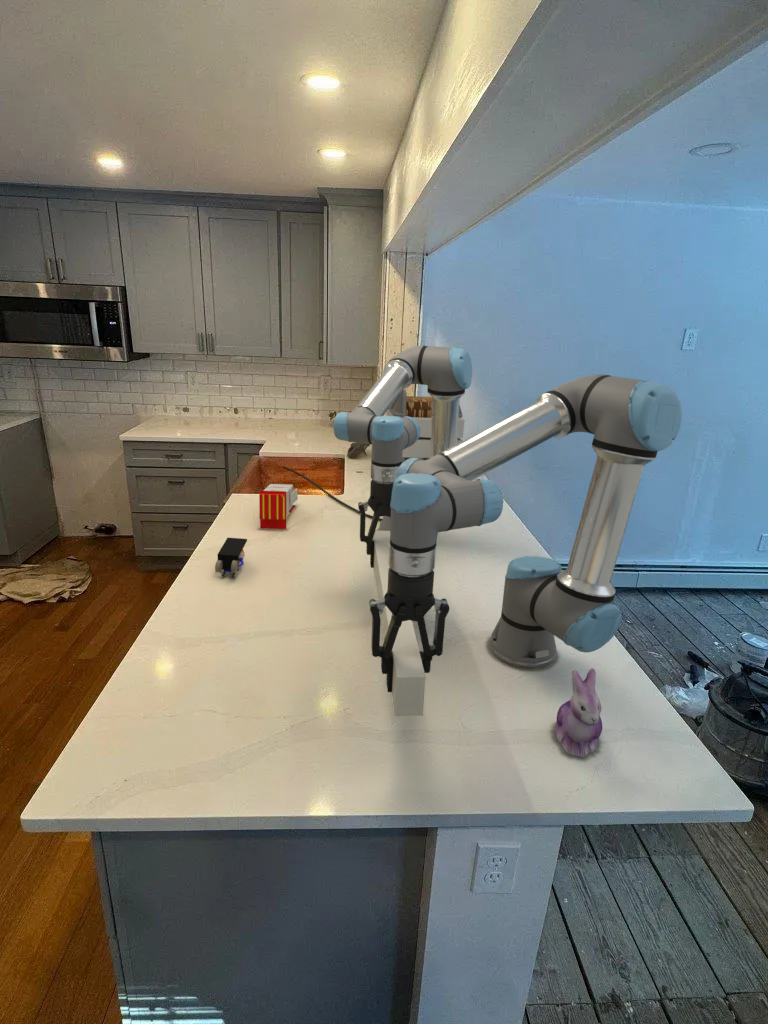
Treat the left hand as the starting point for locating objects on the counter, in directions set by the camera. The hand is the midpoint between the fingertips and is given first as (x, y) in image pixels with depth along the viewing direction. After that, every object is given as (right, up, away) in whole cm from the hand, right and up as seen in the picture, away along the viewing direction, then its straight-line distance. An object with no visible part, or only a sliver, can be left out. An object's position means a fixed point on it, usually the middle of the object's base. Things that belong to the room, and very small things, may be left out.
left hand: (382, 565), depth 148 cm
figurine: (+37, -29, -42) cm, 63 cm away
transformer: (+18, +33, +127) cm, 133 cm away
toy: (-39, +12, +63) cm, 75 cm away
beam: (+2, -9, -24) cm, 25 cm away
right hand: (+4, -17, -47) cm, 51 cm away
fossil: (-13, +45, +157) cm, 164 cm away
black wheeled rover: (-44, -3, +20) cm, 49 cm away
